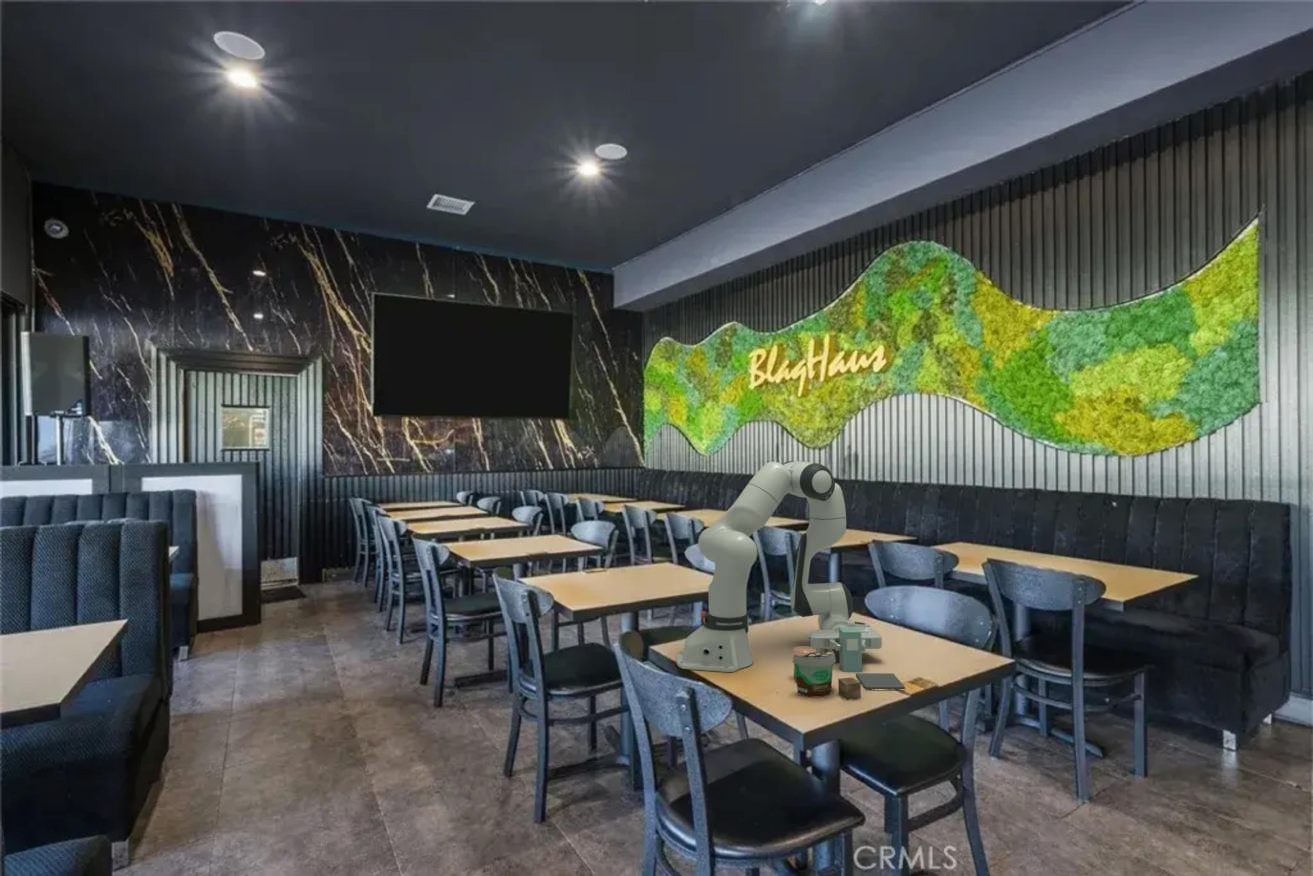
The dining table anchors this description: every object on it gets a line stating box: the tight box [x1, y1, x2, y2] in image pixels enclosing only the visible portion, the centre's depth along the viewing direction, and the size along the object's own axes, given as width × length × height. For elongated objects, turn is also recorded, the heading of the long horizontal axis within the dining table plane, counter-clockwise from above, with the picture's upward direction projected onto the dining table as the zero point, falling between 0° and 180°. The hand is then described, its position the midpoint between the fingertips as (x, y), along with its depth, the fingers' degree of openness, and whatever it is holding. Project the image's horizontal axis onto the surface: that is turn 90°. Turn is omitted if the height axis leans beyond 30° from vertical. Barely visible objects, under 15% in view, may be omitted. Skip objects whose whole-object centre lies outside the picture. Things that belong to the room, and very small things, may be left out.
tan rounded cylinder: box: [793, 645, 817, 682], centre depth 175 cm, size 6×6×8 cm
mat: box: [855, 672, 906, 691], centre depth 171 cm, size 10×10×1 cm
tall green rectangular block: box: [838, 627, 863, 673], centre depth 183 cm, size 5×5×11 cm
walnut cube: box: [837, 676, 862, 701], centre depth 163 cm, size 4×4×4 cm
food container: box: [792, 647, 837, 697], centre depth 165 cm, size 12×6×10 cm, turn 117°
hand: (851, 648), depth 182 cm, fingers closed on tall green rectangular block, 5 cm apart
